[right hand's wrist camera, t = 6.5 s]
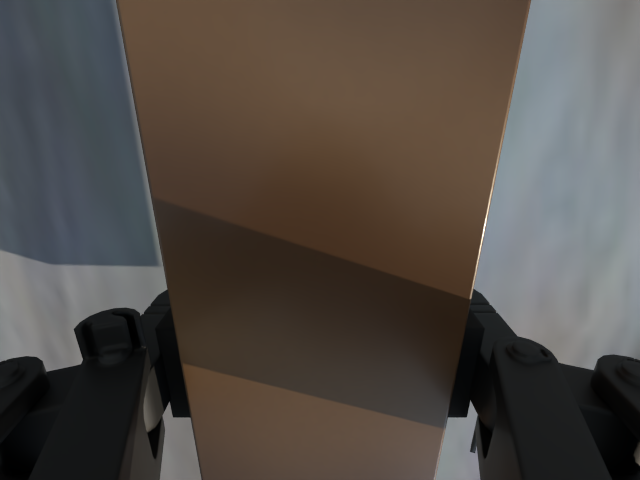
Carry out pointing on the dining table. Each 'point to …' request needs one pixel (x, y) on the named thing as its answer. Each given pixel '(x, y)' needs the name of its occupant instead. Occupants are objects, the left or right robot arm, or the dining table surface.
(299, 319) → the post
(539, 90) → the dining table surface
